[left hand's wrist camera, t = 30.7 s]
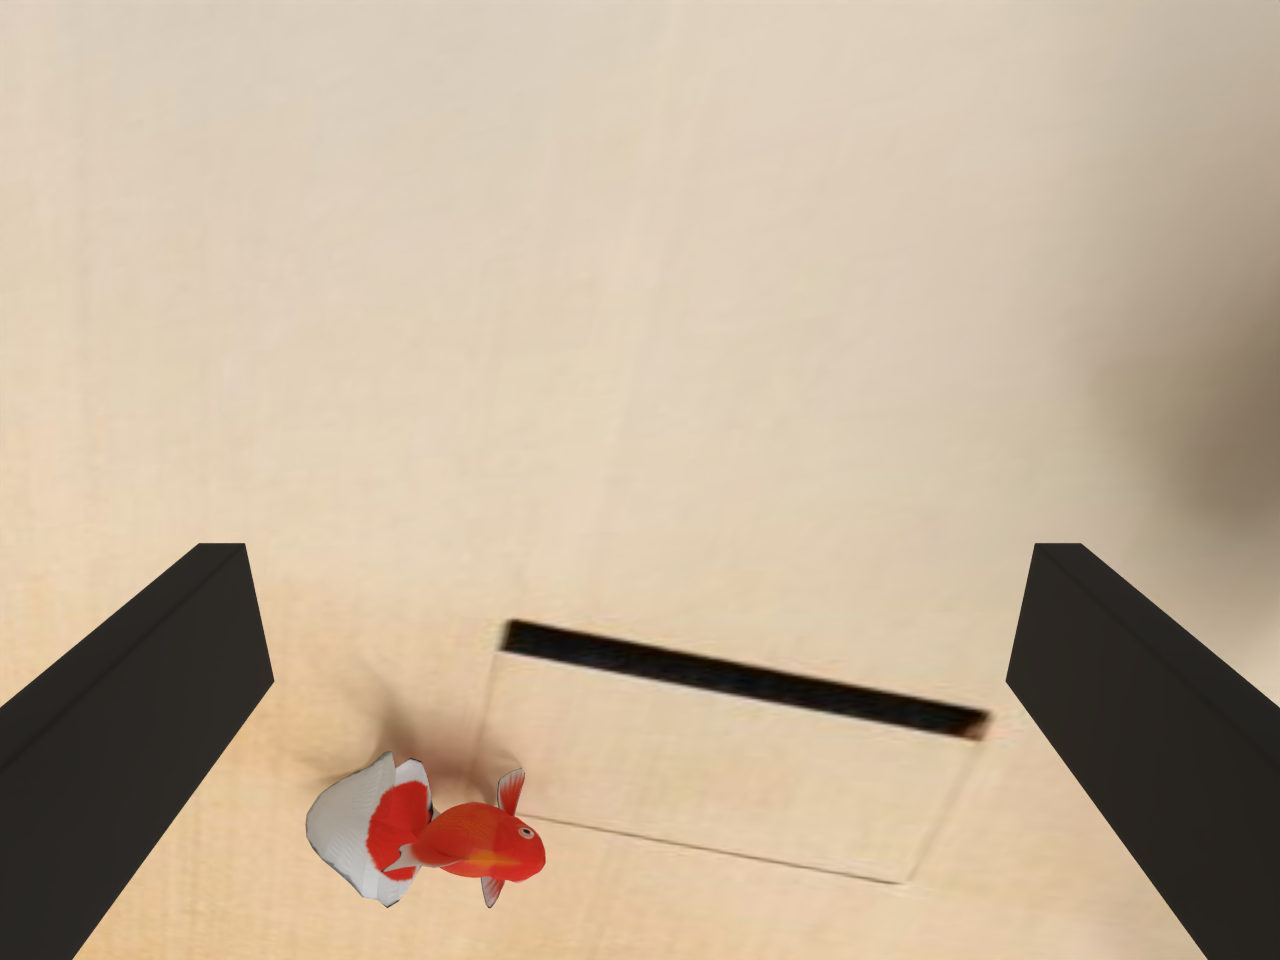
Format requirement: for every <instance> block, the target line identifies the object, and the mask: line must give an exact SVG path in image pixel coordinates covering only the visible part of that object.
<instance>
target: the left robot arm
mask: <svg viewBox="0 0 1280 960" xmlns="http://www.w3.org/2000/svg"><path fill="white" fill-rule="evenodd" d="M273 683H274V677H273V672H272V667H271V663H270V658H269V653H268V649H267V644H266V639H265V635H264V630H263V625H262V621H261V616H260V611H259V607H258V602H257V597H256V592H255V588H254V583H253V578H252V574H251V569H250V564H249V560H248V555H247V550H246V546H245V543H199V544H197V545H196V546H195V547H194V548H193V549H191V550H190V551H189V552H188V553H187V554H185V555H184V556H183V557H182V558H181V559H179V560H178V561H177V562H176V563H175V564H173V565H172V566H171V567H170V568H168V569H167V570H166V571H165V572H164V573H162V574H161V575H160V576H159V577H158V578H156V579H155V580H154V581H153V582H152V583H150V584H149V585H148V586H147V587H146V588H144V589H143V590H142V591H141V592H139V593H138V594H137V595H136V596H135V597H133V598H132V599H131V600H130V601H129V602H127V603H126V604H125V605H124V606H123V607H121V608H120V609H119V610H118V611H117V612H115V613H114V614H113V615H112V616H110V617H109V618H108V619H107V620H106V621H104V622H103V623H102V624H101V625H100V626H98V627H97V628H96V629H95V630H94V631H92V632H91V633H90V634H89V635H88V636H86V637H85V638H84V639H83V640H81V641H80V642H79V643H78V644H77V645H75V646H74V647H73V648H72V649H71V650H69V651H68V652H67V653H66V654H65V655H63V656H62V657H61V658H60V659H59V660H57V661H56V662H55V663H54V664H52V665H51V666H50V667H49V668H48V669H46V670H45V671H44V672H43V673H42V674H40V675H39V676H38V677H37V678H36V679H34V680H33V681H32V682H31V683H30V684H28V685H27V686H26V687H25V688H23V689H22V690H21V691H20V692H19V693H17V694H16V695H15V696H14V697H13V698H11V699H10V700H9V701H8V702H7V703H5V704H4V705H3V706H2V707H1V708H0V960H72V959H73V958H74V956H75V955H76V954H77V952H78V951H79V950H80V948H81V947H82V945H83V944H84V943H85V941H86V940H87V939H88V937H89V936H90V934H91V933H92V932H93V930H94V929H95V928H96V926H97V925H98V923H99V922H100V921H101V919H102V918H103V917H104V915H105V914H106V912H107V911H108V910H109V908H110V907H111V906H112V904H113V903H114V901H115V900H116V899H117V897H118V896H119V895H120V893H121V892H122V890H123V889H124V888H125V886H126V885H127V884H128V882H129V881H130V879H131V878H132V877H133V875H134V874H135V873H136V871H137V870H138V868H139V867H140V866H141V864H142V863H143V862H144V860H145V859H146V857H147V856H148V855H149V853H150V852H151V851H152V849H153V848H154V846H155V845H156V844H157V842H158V841H159V840H160V838H161V837H162V835H163V834H164V833H165V831H166V830H167V829H168V827H169V826H170V824H171V823H172V822H173V820H174V819H175V817H176V816H177V815H178V813H179V812H180V811H181V809H182V808H183V806H184V805H185V804H186V802H187V801H188V800H189V798H190V797H191V795H192V794H193V793H194V791H195V790H196V789H197V787H198V786H199V784H200V783H201V782H202V780H203V779H204V778H205V776H206V775H207V773H208V772H209V771H210V769H211V768H212V767H213V765H214V764H215V762H216V761H217V760H218V758H219V757H220V756H221V754H222V753H223V751H224V750H225V749H226V747H227V746H228V745H229V743H230V742H231V740H232V739H233V738H234V736H235V735H236V734H237V732H238V731H239V729H240V728H241V727H242V725H243V724H244V723H245V721H246V720H247V718H248V717H249V716H250V714H251V713H252V712H253V710H254V709H255V707H256V706H257V705H258V703H259V702H260V701H261V699H262V698H263V696H264V695H265V694H266V692H267V691H268V690H269V688H270V687H271V685H272V684H273ZM1006 683H1007V684H1008V685H1009V687H1010V688H1011V690H1012V691H1013V692H1014V694H1015V695H1016V696H1017V698H1018V699H1019V701H1020V702H1021V703H1022V705H1023V706H1024V707H1025V709H1026V710H1027V712H1028V713H1029V714H1030V716H1031V717H1032V718H1033V720H1034V721H1035V723H1036V724H1037V725H1038V727H1039V728H1040V729H1041V731H1042V732H1043V734H1044V735H1045V736H1046V738H1047V739H1048V740H1049V742H1050V743H1051V745H1052V746H1053V747H1054V749H1055V750H1056V751H1057V753H1058V754H1059V756H1060V757H1061V758H1062V760H1063V761H1064V762H1065V764H1066V765H1067V767H1068V768H1069V769H1070V771H1071V772H1072V773H1073V775H1074V776H1075V778H1076V779H1077V780H1078V782H1079V783H1080V784H1081V786H1082V787H1083V789H1084V790H1085V791H1086V793H1087V794H1088V795H1089V797H1090V798H1091V800H1092V801H1093V802H1094V804H1095V805H1096V806H1097V808H1098V809H1099V811H1100V812H1101V813H1102V815H1103V816H1104V818H1105V819H1106V820H1107V822H1108V823H1109V824H1110V826H1111V827H1112V829H1113V830H1114V831H1115V833H1116V834H1117V835H1118V837H1119V838H1120V840H1121V841H1122V842H1123V844H1124V845H1125V846H1126V848H1127V849H1128V851H1129V852H1130V853H1131V855H1132V856H1133V857H1134V859H1135V860H1136V862H1137V863H1138V864H1139V866H1140V867H1141V868H1142V870H1143V871H1144V873H1145V874H1146V875H1147V877H1148V878H1149V879H1150V881H1151V882H1152V884H1153V885H1154V886H1155V888H1156V889H1157V890H1158V892H1159V893H1160V895H1161V896H1162V897H1163V899H1164V900H1165V901H1166V903H1167V904H1168V906H1169V907H1170V908H1171V910H1172V911H1173V912H1174V914H1175V915H1176V917H1177V918H1178V919H1179V921H1180V922H1181V923H1182V925H1183V926H1184V928H1185V929H1186V930H1187V932H1188V933H1189V934H1190V936H1191V937H1192V939H1193V940H1194V941H1195V943H1196V944H1197V945H1198V947H1199V948H1200V950H1201V951H1202V952H1203V954H1204V955H1205V956H1206V958H1207V959H1208V960H1280V708H1279V707H1278V706H1277V705H1276V704H1275V703H1273V702H1272V701H1271V700H1270V699H1269V698H1267V697H1266V696H1265V695H1264V694H1263V693H1261V692H1260V691H1259V690H1258V689H1257V688H1255V687H1254V686H1253V685H1252V684H1250V683H1249V682H1248V681H1247V680H1246V679H1244V678H1243V677H1242V676H1241V675H1240V674H1238V673H1237V672H1236V671H1235V670H1234V669H1232V668H1231V667H1230V666H1229V665H1228V664H1226V663H1225V662H1224V661H1223V660H1221V659H1220V658H1219V657H1218V656H1217V655H1215V654H1214V653H1213V652H1212V651H1211V650H1209V649H1208V648H1207V647H1206V646H1205V645H1203V644H1202V643H1201V642H1200V641H1199V640H1197V639H1196V638H1195V637H1194V636H1192V635H1191V634H1190V633H1189V632H1188V631H1186V630H1185V629H1184V628H1183V627H1182V626H1180V625H1179V624H1178V623H1177V622H1176V621H1174V620H1173V619H1172V618H1171V617H1170V616H1168V615H1167V614H1166V613H1165V612H1163V611H1162V610H1161V609H1160V608H1159V607H1157V606H1156V605H1155V604H1154V603H1153V602H1151V601H1150V600H1149V599H1148V598H1147V597H1145V596H1144V595H1143V594H1142V593H1141V592H1139V591H1138V590H1137V589H1136V588H1134V587H1133V586H1132V585H1131V584H1130V583H1128V582H1127V581H1126V580H1125V579H1124V578H1122V577H1121V576H1120V575H1119V574H1118V573H1116V572H1115V571H1114V570H1113V569H1112V568H1110V567H1109V566H1108V565H1107V564H1105V563H1104V562H1103V561H1102V560H1101V559H1099V558H1098V557H1097V556H1096V555H1095V554H1093V553H1092V552H1091V551H1090V550H1089V549H1087V548H1086V547H1085V546H1084V545H1083V544H1081V543H1035V546H1034V550H1033V555H1032V560H1031V564H1030V569H1029V574H1028V578H1027V583H1026V588H1025V592H1024V597H1023V602H1022V607H1021V611H1020V616H1019V621H1018V625H1017V630H1016V635H1015V639H1014V644H1013V649H1012V653H1011V658H1010V663H1009V667H1008V672H1007V677H1006Z"/></svg>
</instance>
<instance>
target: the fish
mask: <svg viewBox="0 0 1280 960" xmlns="http://www.w3.org/2000/svg"><path fill="white" fill-rule="evenodd" d="M524 776H525V773H524V771H523V769H522V768H520V769H517V770H513V771H511V772H509V773H508V774H506V775H505V776H503V777H502V778H501V779H500V780H499V782H498V793H497V798H498V807H499V808H497V807H494V806H491V805H488V804H484V803H478V802H472V803H466V804H461V805H458V806H455V807H452V808H450V809H448V810H446V811H445V812H443V813H442V814H440V813H439V812H438V811H437V810H436V809H435V808H434V807H433V805H432V798H431V792H430V786H429V782H428V779H427V775H426V772H425V770H424V767H423V764H422V762H421V761H418V760H416V759H413V758H410V759H408V760H407V761H406V762H404V763H403V764H401V765H400V766H399V767H397V768H396V767H395V763H394V759H393V756H392V752H391V751H389V752H385V753H383V754H382V755H381V756H380V757H379V758H378V759H377V760H376V761H375V762H374V763H372V764H371V765H370V766H369V767H368V768H365V769H363V770H360V771H357V772H355V773H353V774H351V775H349V776H347V777H345V778H344V779H342V780H340V781H338V782H337V783H335V784H333V785H332V786H330V787H329V788H327V789H326V790H325V791H323V792H322V793H321V794H320V795H319V796H318V797H317V799H316V800H315V802H314V804H313V805H312V807H311V808H310V810H309V811H308V813H307V817H306V837H307V839H308V841H309V842H310V844H311V846H312V848H313V849H314V851H315V852H316V853H317V854H318V855H319V856H320V858H321V859H322V860H323V861H325V862H326V863H327V864H328V865H329V866H331V867H332V868H333V869H334V870H335V871H337V872H338V873H339V874H340V875H341V876H342V877H344V878H345V879H346V880H347V881H348V882H349V883H350V884H351V885H352V886H353V887H354V888H355V889H356V890H357V891H358V893H359V894H360V895H361V896H362V897H364V898H370V899H376V900H378V901H379V902H381V903H382V904H383V905H384V906H386V907H387V908H388V907H390V906H392V905H393V904H395V903H397V902H398V901H399V900H400V899H401V897H402V896H403V895H404V894H405V893H406V891H407V890H408V888H409V887H410V885H411V883H412V882H413V880H414V878H415V877H416V875H417V873H418V871H419V870H420V868H421V866H426V867H433V868H437V867H440V868H441V869H443V870H445V871H447V872H450V873H452V874H455V875H459V876H464V877H472V878H478V877H481V883H482V890H483V894H484V899H485V903H486V905H487V906H488V908H491V907H492V906H493V905H494V903H495V902H496V900H497V899H498V897H499V894H500V892H501V889H502V887H503V885H504V883H505V880H510V881H512V882H515V883H521V882H523V881H525V880H526V879H528V878H529V877H531V876H533V875H535V874H537V873H538V872H540V871H541V870H542V868H543V867H544V865H545V863H546V860H545V849H544V846H543V843H542V840H541V838H540V836H539V835H538V834H537V833H536V832H535V830H534V829H532V828H531V827H529V826H528V825H526V824H525V823H524V822H522V821H521V820H520V819H519V818H517V817H514V815H515V811H516V807H517V802H518V799H519V796H520V793H521V789H522V786H523V783H524Z"/></svg>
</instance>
